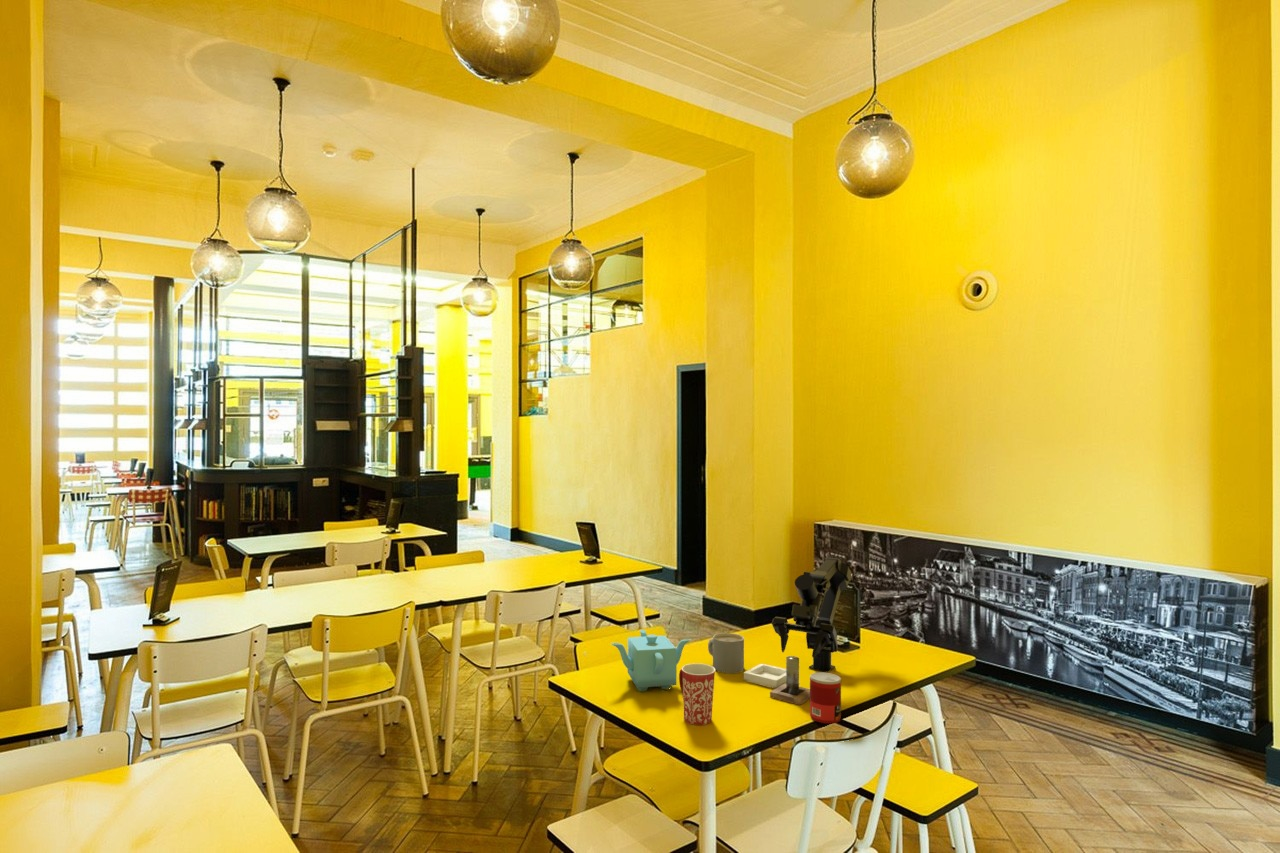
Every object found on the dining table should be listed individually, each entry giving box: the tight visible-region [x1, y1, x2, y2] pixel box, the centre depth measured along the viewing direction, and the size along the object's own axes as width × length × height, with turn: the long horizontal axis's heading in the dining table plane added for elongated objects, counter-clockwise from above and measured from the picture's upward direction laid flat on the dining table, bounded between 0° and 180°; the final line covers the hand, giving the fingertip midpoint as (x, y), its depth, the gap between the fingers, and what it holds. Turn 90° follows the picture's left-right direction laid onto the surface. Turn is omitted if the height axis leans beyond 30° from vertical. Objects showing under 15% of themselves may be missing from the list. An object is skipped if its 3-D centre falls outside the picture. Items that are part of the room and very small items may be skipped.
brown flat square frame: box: [769, 683, 810, 706], centre depth 202 cm, size 9×9×2 cm
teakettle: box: [610, 629, 692, 692], centre depth 211 cm, size 19×19×15 cm
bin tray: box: [743, 663, 786, 689], centre depth 216 cm, size 11×11×2 cm
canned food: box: [809, 671, 842, 725], centre depth 186 cm, size 8×8×11 cm
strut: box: [785, 655, 800, 696], centre depth 202 cm, size 4×4×11 cm
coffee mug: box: [707, 632, 745, 674], centre depth 228 cm, size 13×10×10 cm
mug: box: [678, 662, 717, 726], centre depth 186 cm, size 13×9×14 cm
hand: (797, 654), depth 206 cm, fingers open, 9 cm apart
